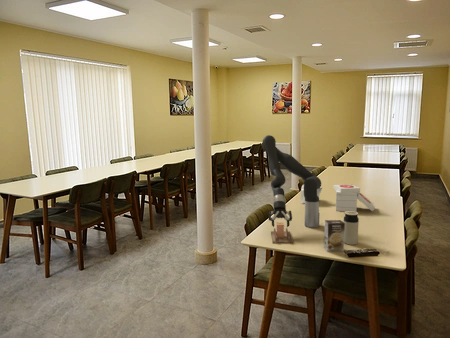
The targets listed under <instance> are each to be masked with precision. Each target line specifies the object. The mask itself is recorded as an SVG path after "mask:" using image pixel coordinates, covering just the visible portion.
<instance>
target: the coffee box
mask: <svg viewBox="0 0 450 338" xmlns="http://www.w3.org/2000/svg"><path fill="white" fill-rule="evenodd" d="M344 231H345V223H344V220H341V219H340V220H339V219H337V220H336V219H330V220H329V219H328V220H326V219H325V220H324V232H323V233H324V238H323V240H324V241H323V248H324V249H325V251H326V252H329V253H330V252H344V249H345V248H344V246H345V243H344Z"/></svg>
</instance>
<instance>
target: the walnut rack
mask: <svg viewBox="0 0 450 338" xmlns="http://www.w3.org/2000/svg"><path fill="white" fill-rule="evenodd" d="M270 236H271V242H272V244H294V240H293V237H292V233H291V231H289V230H288V227H286V228H285V230H284V238H277V228H274V227H273V231H270Z"/></svg>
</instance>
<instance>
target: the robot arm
mask: <svg viewBox="0 0 450 338" xmlns="http://www.w3.org/2000/svg"><path fill="white" fill-rule="evenodd" d="M276 143H277V141H276V139H275V136H273V135H270V134H269V135H265V136H264V137H263V139H262V144H261V147H262V150H263V151H264V152H266V154H267V161H268V167H269V172H270V175H271V176H273V177H274V176H275V177H274V178H272V180H271V182H270V186H271V191H272V193H273V201H272V204H273V210H270V209H269V211H268V221H270V222H271V227H272V228H274V227H275V220H276V219H284V220H286V228H289V227H290V222H291V221H292V220H293V214H292V210H289V211H288V210H287V207H286V206H287V205H286V198H285V197H286V196H285V195H286V194H285V189H284V188H282V186H283V185H284V184H286V177H285V175H284V173H283V171H282V170H281V167H280V165H281V166H282V167H284V169H286V170H287V171H288V172H289V173H291V174H293V175H295V176H297V177H299V178H301V179H302V180H303V185H304V197H305V203H304V226H305V227H307V228H319V227H320V196H319V197H318V196H317V189H319V188H320V187H321V188H322V181H321V179H320V178H319V177H318V176H317V175H316V174H314V173H313V172H311V171H310V170H308V169H307V168H306V167H305V166H304V165H303V164H302V163H300V162H299V160H297V159H296V158H295V157H294V156H293V155H291V154H288V153H286V152H283V151H282V150H280V149H279V148H277V145H276ZM272 215H273V217H272Z"/></svg>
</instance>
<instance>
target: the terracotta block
mask: <svg viewBox="0 0 450 338" xmlns="http://www.w3.org/2000/svg"><path fill="white" fill-rule="evenodd" d="M276 231H277V238H284V231H285V223H284V222H276Z"/></svg>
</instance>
